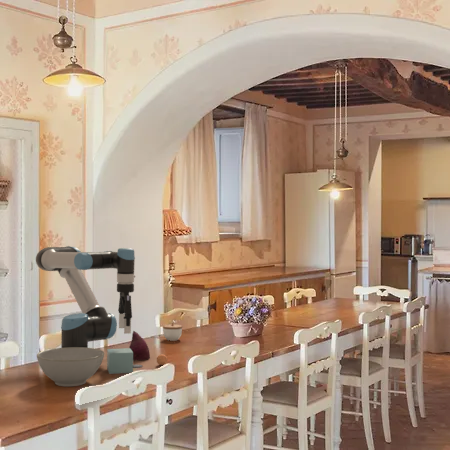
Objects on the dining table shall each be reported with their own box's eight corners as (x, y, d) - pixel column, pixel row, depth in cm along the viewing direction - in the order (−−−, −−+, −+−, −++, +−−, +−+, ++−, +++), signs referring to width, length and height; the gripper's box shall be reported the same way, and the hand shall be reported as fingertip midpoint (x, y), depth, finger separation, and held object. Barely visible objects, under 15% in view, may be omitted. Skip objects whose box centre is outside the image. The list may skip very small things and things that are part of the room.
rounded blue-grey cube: (109, 373, 297) (109, 353, 297) (107, 368, 307) (107, 349, 307) (132, 372, 300) (133, 352, 300) (129, 367, 310) (130, 348, 309)
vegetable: (130, 367, 325) (123, 338, 322) (128, 360, 335) (121, 331, 332) (152, 361, 327) (145, 331, 324) (149, 354, 337) (142, 325, 334)
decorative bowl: (108, 375, 294) (108, 347, 294) (98, 391, 267) (99, 360, 267) (44, 375, 293) (45, 347, 293) (29, 391, 266) (29, 360, 266)
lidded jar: (179, 341, 375) (179, 324, 375) (160, 341, 377) (160, 323, 377) (184, 338, 386) (184, 321, 386) (165, 337, 388) (166, 321, 388)
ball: (157, 366, 312) (157, 355, 312) (155, 364, 317) (155, 353, 317) (168, 366, 314) (168, 355, 313) (166, 363, 318) (166, 353, 318)
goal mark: (130, 368, 308) (130, 367, 308) (128, 365, 314) (128, 364, 314) (143, 367, 310) (143, 367, 310) (141, 364, 316) (141, 364, 316)
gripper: (139, 286, 295) (138, 335, 295) (128, 280, 319) (127, 325, 319) (122, 286, 293) (121, 336, 293) (112, 280, 316) (111, 326, 317)
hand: (124, 330), depth 306 cm, fingers open, 13 cm apart
